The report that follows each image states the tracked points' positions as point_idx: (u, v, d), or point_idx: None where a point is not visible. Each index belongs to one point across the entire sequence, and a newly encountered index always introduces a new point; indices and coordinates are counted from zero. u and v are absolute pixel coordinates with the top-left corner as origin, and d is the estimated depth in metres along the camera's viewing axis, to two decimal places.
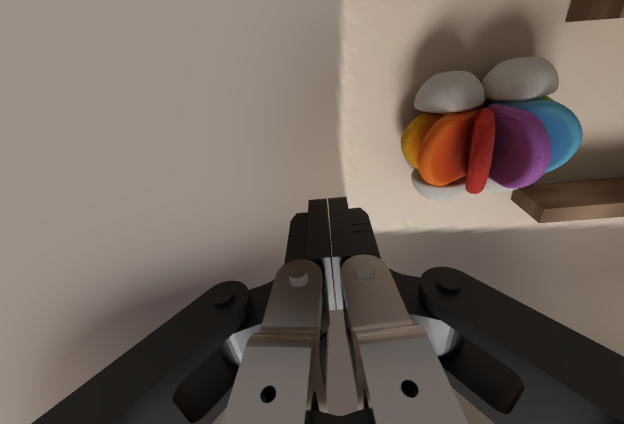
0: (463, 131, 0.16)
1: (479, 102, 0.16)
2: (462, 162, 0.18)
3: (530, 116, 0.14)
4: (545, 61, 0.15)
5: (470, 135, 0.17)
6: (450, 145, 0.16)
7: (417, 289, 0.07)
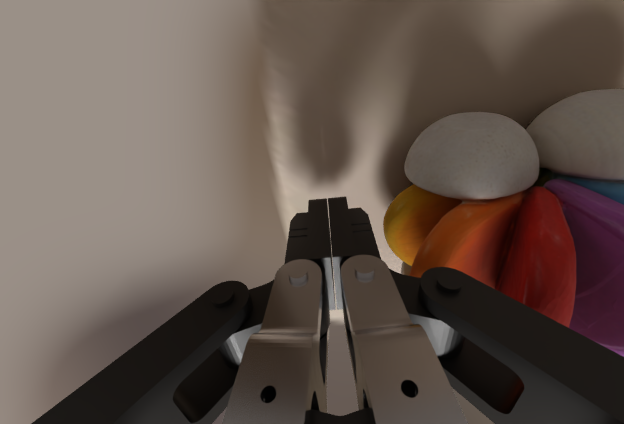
0: (497, 231, 0.09)
1: (531, 181, 0.08)
2: (491, 275, 0.10)
3: None
4: None
5: (508, 234, 0.09)
6: (472, 258, 0.09)
7: (417, 289, 0.07)
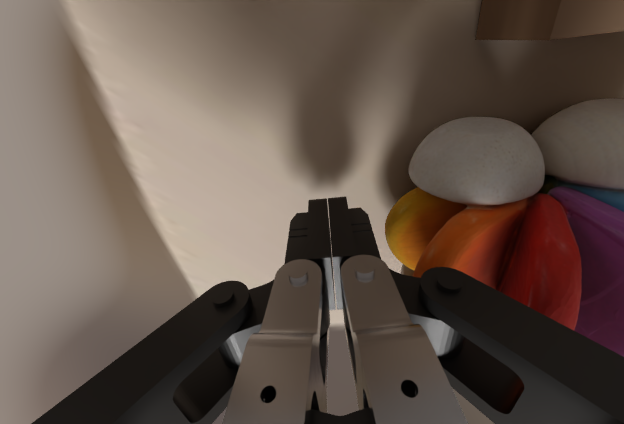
0: (501, 237, 0.09)
1: (537, 188, 0.08)
2: (492, 280, 0.10)
3: None
4: None
5: (511, 240, 0.09)
6: (475, 263, 0.09)
7: (417, 289, 0.07)
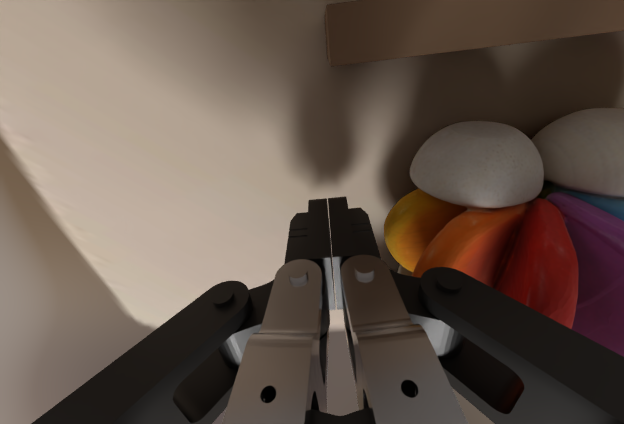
0: (499, 240, 0.09)
1: (536, 192, 0.08)
2: (488, 283, 0.10)
3: None
4: None
5: (509, 243, 0.09)
6: (473, 265, 0.09)
7: (417, 289, 0.07)
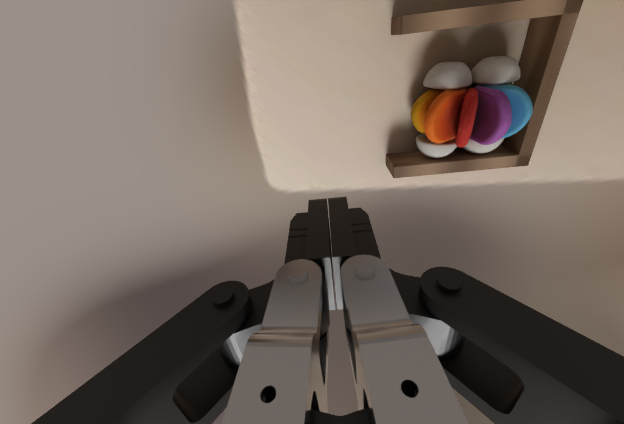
0: (456, 103, 0.24)
1: (468, 83, 0.23)
2: (454, 127, 0.25)
3: (500, 93, 0.22)
4: (512, 59, 0.23)
5: (461, 107, 0.24)
6: (447, 112, 0.24)
7: (417, 289, 0.07)
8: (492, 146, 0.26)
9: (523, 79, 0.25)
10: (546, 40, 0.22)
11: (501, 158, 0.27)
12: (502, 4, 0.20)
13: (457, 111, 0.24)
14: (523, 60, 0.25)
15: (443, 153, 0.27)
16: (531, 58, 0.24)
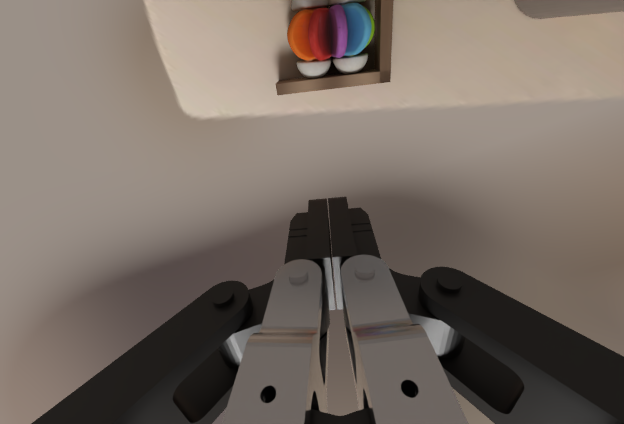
0: None
1: (320, 2, 0.28)
2: None
3: (338, 6, 0.26)
4: None
5: None
6: (305, 28, 0.28)
7: (417, 289, 0.07)
8: (354, 63, 0.31)
9: (376, 3, 0.30)
10: None
11: (365, 74, 0.31)
12: None
13: None
14: None
15: (315, 71, 0.31)
16: None
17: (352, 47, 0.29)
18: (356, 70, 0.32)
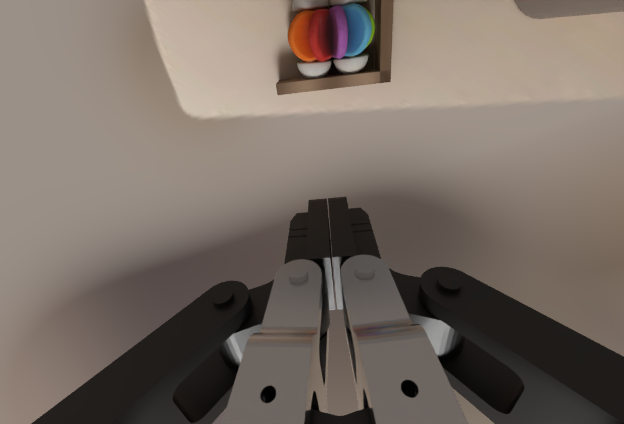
0: None
1: (321, 4, 0.28)
2: None
3: (338, 7, 0.26)
4: None
5: None
6: (306, 29, 0.28)
7: (417, 289, 0.07)
8: (355, 64, 0.31)
9: (376, 3, 0.30)
10: None
11: (366, 74, 0.31)
12: None
13: None
14: None
15: (315, 72, 0.31)
16: None
17: (352, 48, 0.29)
18: (356, 71, 0.32)
